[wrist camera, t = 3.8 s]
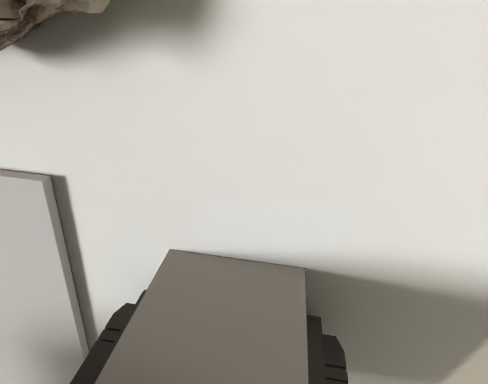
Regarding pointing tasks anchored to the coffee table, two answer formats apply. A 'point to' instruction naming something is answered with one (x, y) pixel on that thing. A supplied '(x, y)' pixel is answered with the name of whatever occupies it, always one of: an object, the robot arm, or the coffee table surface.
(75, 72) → the coffee table surface
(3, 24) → the mineral rock
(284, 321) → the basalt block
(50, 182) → the mat
